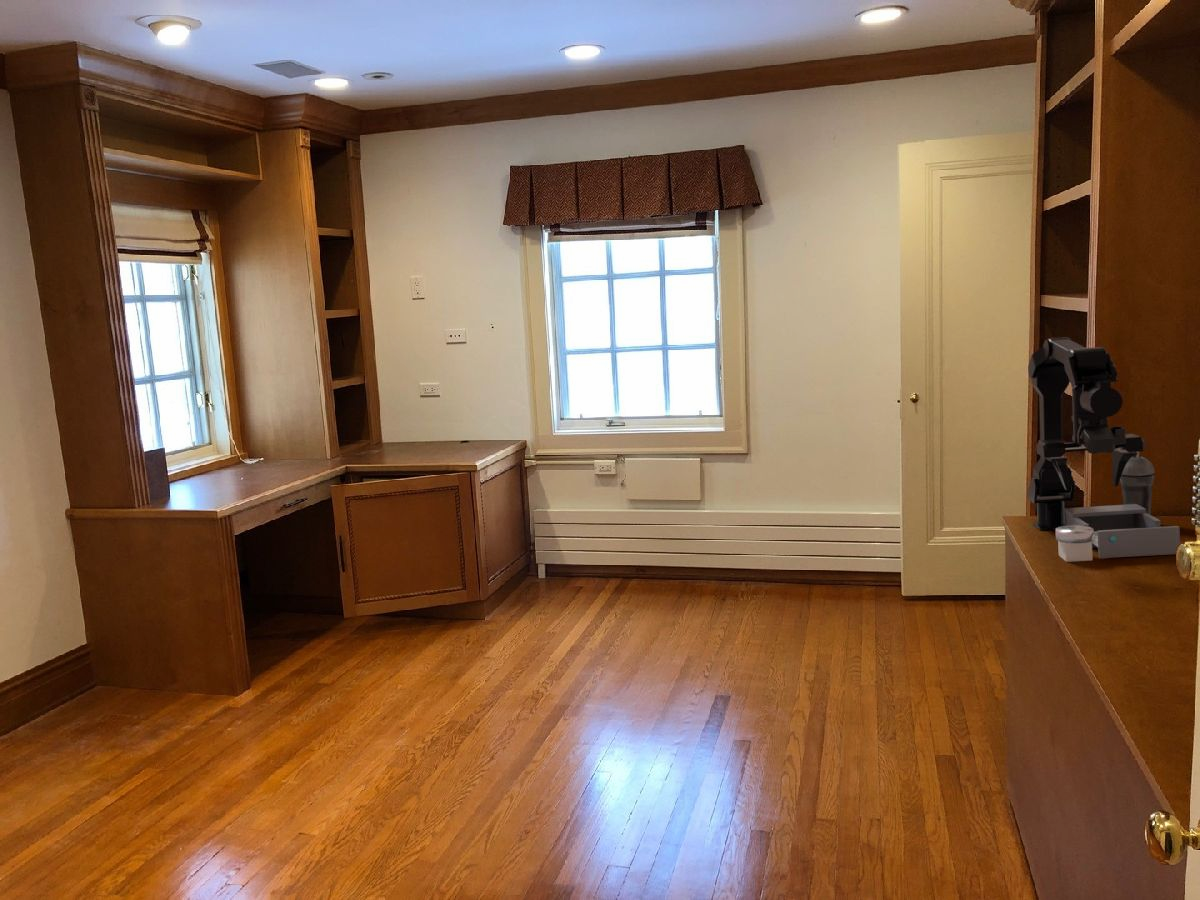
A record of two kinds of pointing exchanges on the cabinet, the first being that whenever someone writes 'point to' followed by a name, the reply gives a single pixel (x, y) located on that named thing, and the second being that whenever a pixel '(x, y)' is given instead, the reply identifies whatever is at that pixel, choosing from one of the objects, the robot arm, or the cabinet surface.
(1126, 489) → the beverage cup
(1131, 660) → the cabinet surface
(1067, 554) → the block
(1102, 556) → the tray
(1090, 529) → the disc
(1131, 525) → the housing
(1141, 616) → the cabinet surface
